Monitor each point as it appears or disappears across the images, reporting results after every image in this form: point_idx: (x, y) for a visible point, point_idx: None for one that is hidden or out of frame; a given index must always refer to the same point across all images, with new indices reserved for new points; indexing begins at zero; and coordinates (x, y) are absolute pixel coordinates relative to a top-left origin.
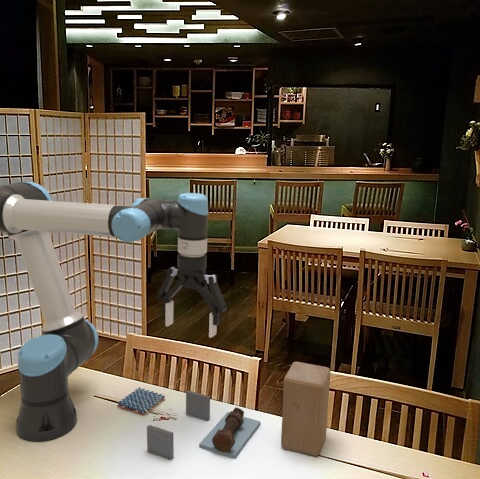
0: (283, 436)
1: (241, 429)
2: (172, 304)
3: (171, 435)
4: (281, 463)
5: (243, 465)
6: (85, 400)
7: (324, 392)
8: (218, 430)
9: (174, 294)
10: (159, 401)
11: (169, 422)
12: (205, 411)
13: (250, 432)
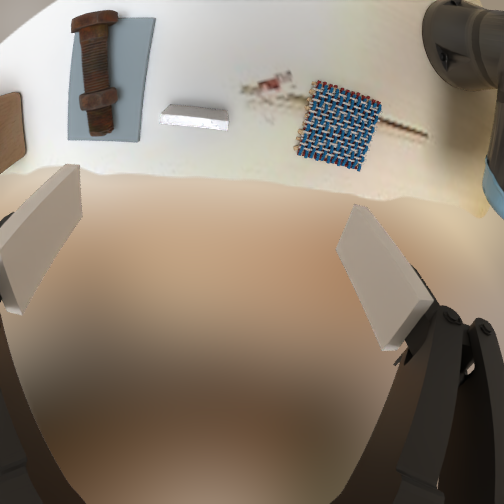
0: (4, 96)
1: None
2: (380, 325)
3: None
4: (13, 58)
5: (63, 17)
6: (435, 118)
7: None
8: (96, 18)
9: (397, 392)
10: (302, 136)
11: (252, 72)
12: (173, 108)
13: (71, 97)
